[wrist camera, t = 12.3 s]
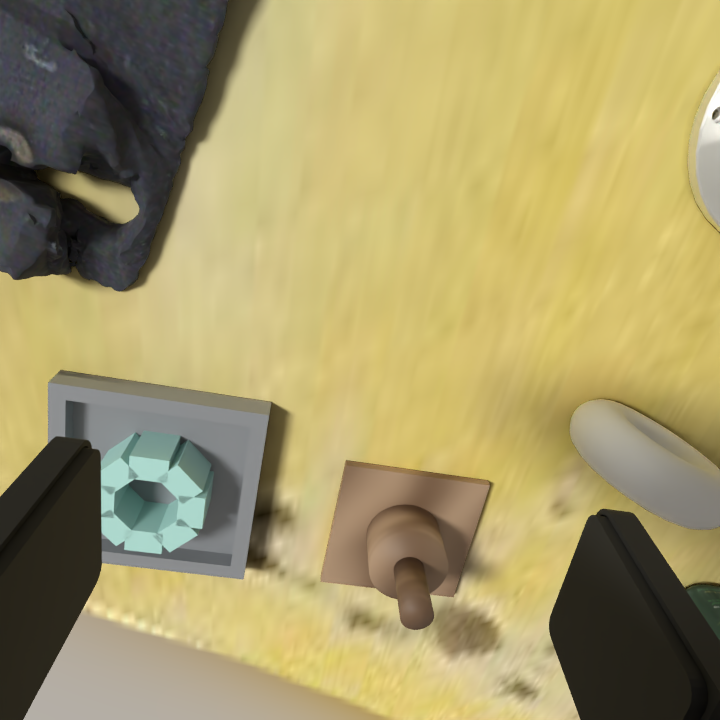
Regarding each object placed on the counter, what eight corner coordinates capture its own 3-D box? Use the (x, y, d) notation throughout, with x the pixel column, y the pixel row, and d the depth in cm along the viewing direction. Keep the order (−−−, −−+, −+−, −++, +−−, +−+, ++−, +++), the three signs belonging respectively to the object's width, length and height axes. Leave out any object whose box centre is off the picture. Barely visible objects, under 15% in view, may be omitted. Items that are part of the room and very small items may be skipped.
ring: (217, 440, 39) (209, 466, 36) (207, 528, 41) (198, 558, 39) (105, 425, 38) (88, 450, 35) (102, 515, 41) (85, 545, 38)
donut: (685, 429, 41) (789, 522, 32) (653, 467, 42) (744, 569, 33) (567, 367, 39) (641, 449, 29) (536, 410, 40) (599, 501, 31)
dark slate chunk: (310, -56, 30) (307, -85, 25) (125, 309, 36) (97, 336, 32) (2, -286, 26) (-65, -366, 21) (-141, 168, 33) (-214, 177, 28)
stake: (487, 480, 42) (522, 560, 34) (451, 591, 45) (475, 684, 38) (345, 460, 40) (349, 538, 33) (320, 575, 44) (319, 669, 37)
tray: (271, 402, 39) (268, 415, 37) (246, 561, 43) (243, 579, 42) (60, 370, 37) (48, 382, 35) (59, 539, 42) (47, 556, 40)
